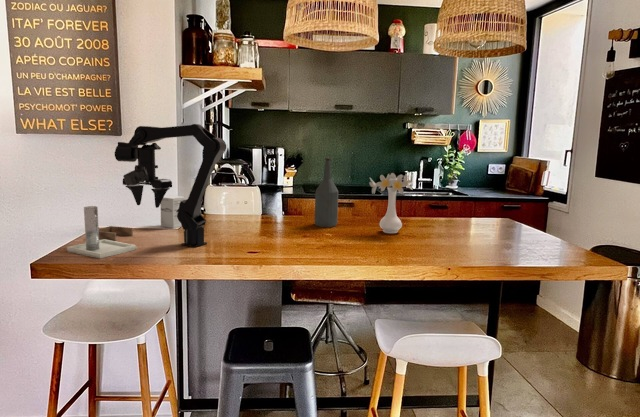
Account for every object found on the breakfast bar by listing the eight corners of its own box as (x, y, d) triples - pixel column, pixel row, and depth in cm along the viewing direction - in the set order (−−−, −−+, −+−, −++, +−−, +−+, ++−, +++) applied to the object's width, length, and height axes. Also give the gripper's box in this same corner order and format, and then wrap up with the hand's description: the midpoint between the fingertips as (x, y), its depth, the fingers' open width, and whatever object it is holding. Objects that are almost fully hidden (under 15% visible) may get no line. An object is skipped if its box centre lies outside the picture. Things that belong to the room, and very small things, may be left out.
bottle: (310, 223, 212) (312, 157, 207) (329, 222, 217) (331, 157, 212) (321, 228, 203) (323, 158, 198) (341, 226, 208) (343, 158, 203)
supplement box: (160, 226, 197) (159, 196, 195) (173, 223, 203) (172, 194, 201) (173, 228, 193) (172, 198, 191) (186, 225, 200) (185, 196, 198)
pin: (101, 247, 157) (99, 206, 155) (97, 250, 153) (95, 208, 151) (88, 247, 156) (86, 206, 154) (84, 250, 153) (81, 208, 150)
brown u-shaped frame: (133, 235, 179) (132, 227, 178) (115, 241, 169) (114, 233, 168) (110, 233, 181) (110, 226, 180) (91, 239, 171) (91, 231, 170)
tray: (136, 249, 158) (136, 245, 158) (99, 258, 146) (99, 253, 146) (104, 243, 165) (104, 239, 165) (67, 251, 153) (66, 247, 153)
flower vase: (363, 229, 202) (365, 171, 198) (402, 228, 207) (405, 171, 203) (375, 236, 190) (378, 174, 186) (416, 234, 195) (419, 174, 191)
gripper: (108, 161, 162) (110, 206, 164) (147, 164, 153) (148, 212, 156) (134, 160, 172) (136, 203, 174) (172, 163, 163) (173, 207, 166)
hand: (147, 206), depth 167 cm, fingers open, 9 cm apart
